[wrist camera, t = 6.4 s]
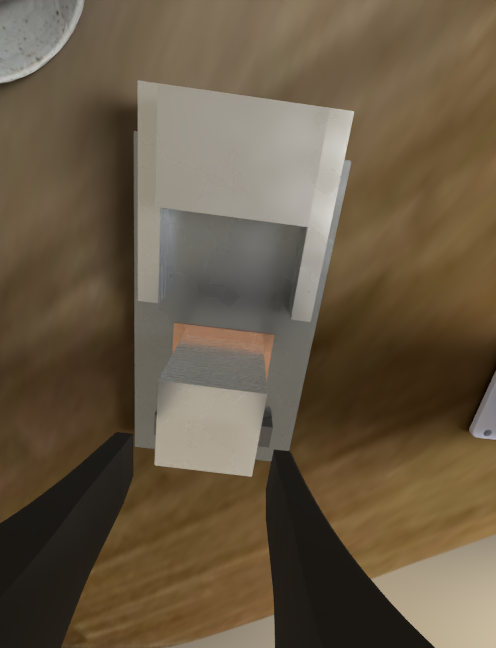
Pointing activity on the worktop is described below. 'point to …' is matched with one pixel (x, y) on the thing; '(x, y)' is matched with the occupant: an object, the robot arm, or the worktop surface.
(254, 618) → the worktop surface
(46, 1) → the ceramic mug
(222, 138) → the block
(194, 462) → the white rectangular block
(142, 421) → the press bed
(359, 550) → the worktop surface
